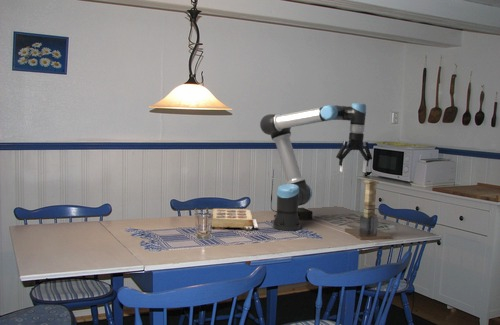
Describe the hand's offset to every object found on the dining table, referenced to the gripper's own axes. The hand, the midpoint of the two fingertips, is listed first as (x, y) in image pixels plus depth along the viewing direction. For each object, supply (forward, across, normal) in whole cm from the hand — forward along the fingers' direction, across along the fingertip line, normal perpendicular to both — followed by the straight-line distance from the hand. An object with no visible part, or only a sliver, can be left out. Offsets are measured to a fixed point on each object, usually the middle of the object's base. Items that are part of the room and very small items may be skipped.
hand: (352, 172), depth 274 cm
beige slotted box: (+35, -57, +25) cm, 72 cm away
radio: (+35, -20, +37) cm, 54 cm away
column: (+25, +8, -8) cm, 27 cm away
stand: (+32, +8, -8) cm, 34 cm away
